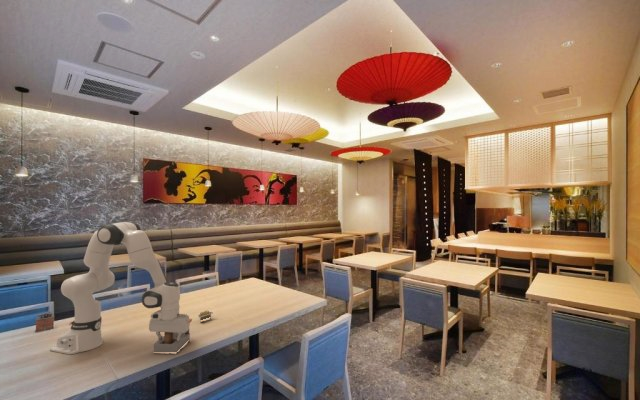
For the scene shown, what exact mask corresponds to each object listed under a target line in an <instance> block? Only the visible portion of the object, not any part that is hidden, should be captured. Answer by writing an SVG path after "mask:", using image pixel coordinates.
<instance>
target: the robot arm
mask: <svg viewBox="0 0 640 400" xmlns="http://www.w3.org/2000/svg"><path fill="white" fill-rule="evenodd" d="M120 244H122V245H124V246H125V248H126V250H127V254H128V259H129V260H130V262H131V264H132V265H133V266H134V267H136V268H139V269H144V270H145V271H147V272H148V273H149V274H150V277H151V279H152V282H153V284H154V287H152V288H150V289H148V290H147V291H145V292H144V293H142V296H141V304H142V305H143V307H145V308H146V309H156V308H160V309H158V310H156V311H155V312H153V313H151V314H150V320H149V323H148V330H149V332H151V333H153V332H154V333H155V335H156V336H157V341H158V340H162V337H163V336H164V335H162V334H161V333H165V332H174V333H178V336H177V337H176V341H179V340H180V336H181V334H182V333H186V332H187V331H188V330H189V331H190V325H189V319H190V315H188V314H187V313H180V298H181V290H180V285H179V284H178V283H177V282H175V281H168V279H167V277H166V275H165V272H164V270H163V267H162V265H161V263H160V261H159V259H158V258H157V257H156V255H155V253H154V248H153V246H152V244H151V240H150V239H149V237H148V235H147V233H146V231H144V230H141V227H140V225H139V224H138V223H136V222H134V221H121V222H115V223H108V224H105V225H102V226H101V227H99V228H98V229H97V230H95V231H94V233H93V234H92V236H91V238H90V240H89V242H88V245H87V248H86V251H85V254H84V257H83V263H84V265H85V266H86V267H88V268H89V271H88V272H87V273H82V274H77V275H74V276H70V277H68V278H66V279H64V280H63V282H62V284H61V287H60V292H61V295H63V296H64V298H65V297H66V298H67V299H69V300H70V301H71V302H72V304H73V306H74V320H73V321H70V322H69V323H68V324H69V326H70V328H68V329H67V330H66V331H65V332H63V333H62V334H60V335H59V336H58V338H57V340H56V341H57V342H56V344H54V345H53V346H52V347H50V349H49V351H50V352H54V353H60V354H66V355H75V354H78V353H81V352H86V351H90V350H93V349H96V348H98V347H100V346H102V344H104V340H103V337H102V330H101V328H102V303H101V301H100V300H98V299H94V296H93V295H94V293H97V292H99V291H103V290H106V289H108V288H109V287H111V286H113V285H114V283H115V280H116V276H115V274H114V273H113V272H112V271H111V270H110V267H109V266H110V259H111V257H112V252H113V249H114V246H115V245H118V246H119V245H120Z"/></svg>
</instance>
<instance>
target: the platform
mask: <svg viewBox="0 0 640 400" xmlns="http://www.w3.org/2000/svg"><path fill="white" fill-rule="evenodd" d="M212 314H214V312H213V311H209V310H204V311H202V312H199V314H198V315H197V316H198V318H199V321H200V320H203V319H206V318H209V317H211V318H212Z"/></svg>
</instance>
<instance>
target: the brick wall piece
mask: <svg viewBox="0 0 640 400" xmlns="http://www.w3.org/2000/svg"><path fill="white" fill-rule="evenodd" d="M54 321H55V315H53V312H45V313H39V314H38V315H37V318H35V333H41V332H46V331H50V330H53V329H55V327H54V326H55V325H54V323H55V322H54Z"/></svg>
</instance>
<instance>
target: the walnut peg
mask: <svg viewBox="0 0 640 400" xmlns="http://www.w3.org/2000/svg"><path fill="white" fill-rule="evenodd" d="M163 336H164V344H172V343H173V332H164V334H163Z"/></svg>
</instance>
